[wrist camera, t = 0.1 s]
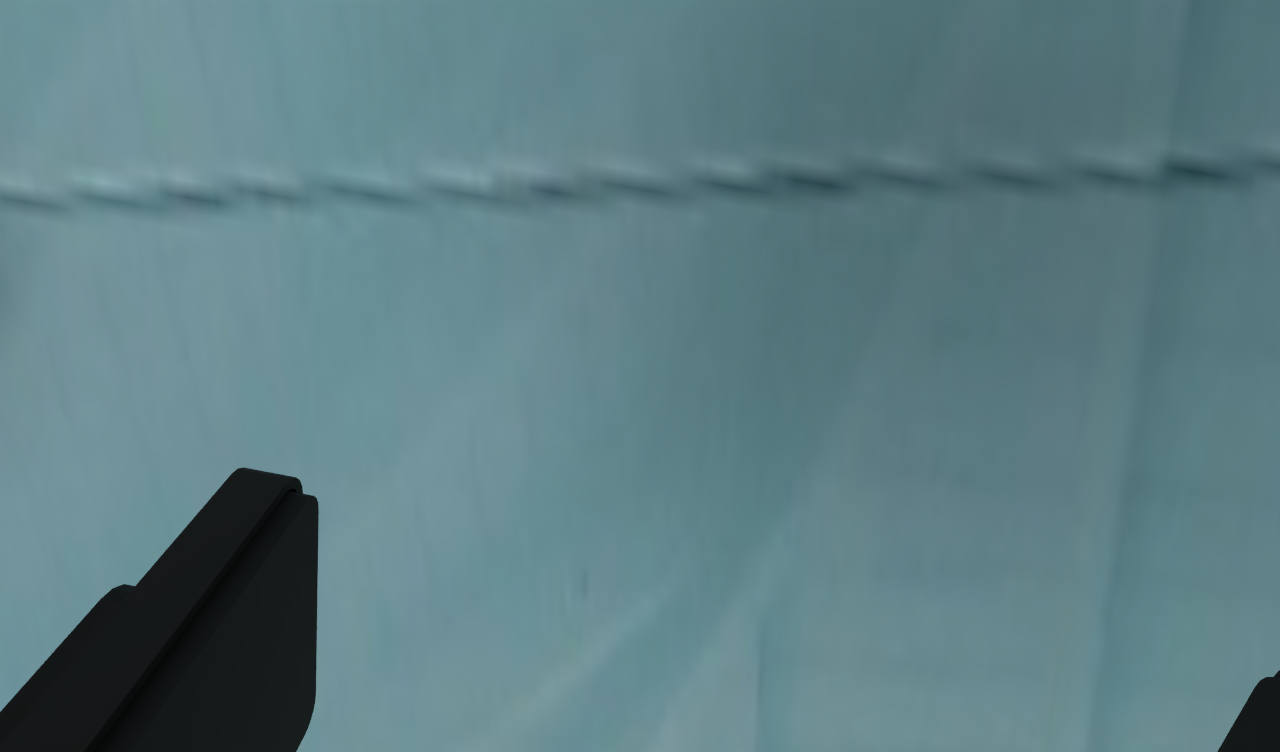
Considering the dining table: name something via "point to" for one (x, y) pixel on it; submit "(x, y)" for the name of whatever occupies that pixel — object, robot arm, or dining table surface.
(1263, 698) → the robot arm
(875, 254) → the dining table surface
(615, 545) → the dining table surface
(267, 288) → the dining table surface
